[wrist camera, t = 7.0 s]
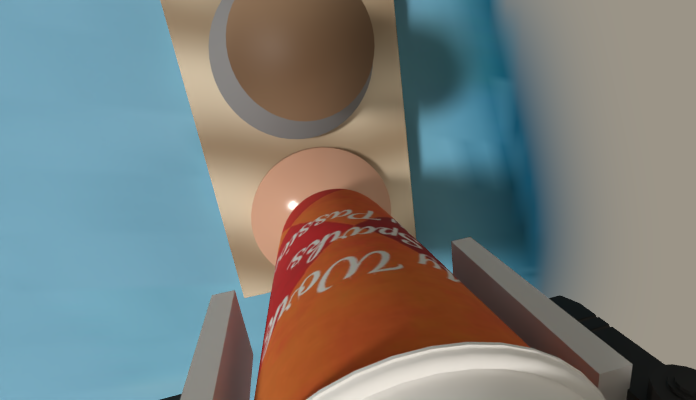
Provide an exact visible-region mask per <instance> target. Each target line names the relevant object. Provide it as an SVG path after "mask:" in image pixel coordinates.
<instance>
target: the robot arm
mask: <svg viewBox="0 0 696 400" xmlns="http://www.w3.org/2000/svg"><path fill="white" fill-rule="evenodd" d="M451 246H452V262H453V275H454V276H455V277H456V278H458V279H459V280H460V281H461V282H462V283H463V284H464V285H465V286H466V287H467V288H468V289H469V290H470V291H471V292H472V293H473V294H474V295H475V296H477V297H478V298H479V299H480V300H481V301H482V302H483V303H484V304H485V305H486V306H487V307H488V308H489V309H490V310H491V311H492V312H493V313H494V314H496V315H497V316H498V317H499V318H500V319H501V320H502V321H503V322H504V323H505V324H506V325H507V326H508V327H509V328H510V329H511V330H512V331H514V332H515V333H516V334H517V335H518V336H519V337H520V338H521V339H522V340H523V341H524V342H525V343H526V344H527V345H528V346H529V347H530V348H534V349H536V350H539V351H542V352H544V353H547V354H550V355H552V356H555V357H558V358H560V359H562V360H563V361H565V362H566V363H568V364H570V365H571V366H573V367H574V368H576V369H578V370H579V371H581V372H582V373H583V374H584V375H585V376H586V377H587V378H588V379H589V380H590V381H591V382H592V383H593V384H594V385H595V386H596V387H597V388H598V389H599V390H600V391H601V393H602V394H603V396H604V398H605V399H606V400H696V370H695V369H692V368H688V367H685V366H678V365H665V364H663V363H662V362H660V361H659V360H658V359H656V358H655V357H653V356H652V355H650V354H649V353H648V352H646V351H645V350H643V349H642V348H641V347H640V346H638V345H637V344H635V343H634V342H633V341H631V340H630V339H628V338H627V337H625V336H624V335H623V334H621V333H620V332H619V331H617V330H616V329H614V328H613V327H610V326H609V324H608V323H606V322H605V321H603V320H602V319H601V318H599V317H598V318H597V317H596V315H595V314H594V313H592V312H591V311H590V310H588V309H587V308H585V307H584V306H583V305H581V304H580V303H577V302H575V301H573V300H570V299H568V298H565V297H563V296H556V297H552V298H547V297H546V296H545V295H544V294H542V293H541V292H540V291H539V290H537V289H536V288H535V287H533V286H532V285H531V284H530V283H528V282H527V281H526V280H525V279H523V278H522V277H521V276H519V275H518V274H517V273H516V272H514V271H513V270H512V269H511V268H509V267H508V266H507V265H505V264H504V263H503V262H502V261H500V260H499V259H498V258H497V257H495V256H494V255H493V254H491V253H490V252H489V251H488V250H486V249H485V248H484V247H483V246H481V245H480V244H479V243H477V242H476V241H475V240H474V239H472V238H471V237H468V238H464V239H459V240H455V241H451ZM252 363H253V352H252V348H251V345H250V342H249V338H248V335H247V331H246V328H245V324H244V321H243V317H242V314H241V310H240V307H239V303H238V300H237V296H236V293H235V290H234V291H229V292H225V293H220V294H216V295H212V297H211V300H210V303H209V307H208V310H207V313H206V316H205V320H204V323H203V326H202V330H201V333H200V336H199V339H198V343H197V346H196V349H195V353H194V356H193V359H192V362H191V366H190V369H189V372H188V376H187V379H186V382H185V385H184V389H183V392H182V394H180V395H176V396H172V397H168V398H164V399H161V400H249V398H250V386H251V374H252Z"/></svg>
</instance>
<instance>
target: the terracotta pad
mask: <svg viewBox="0 0 696 400" xmlns="http://www.w3.org/2000/svg"><path fill="white" fill-rule="evenodd" d="M329 189H348V190H353V191H356V192H359V193H361V194H363V195H365V196H367V197H369V198H370V199H371V200H373V201H374V202H375V203H377V204H378V205H379V206H380V207H381V208H383V209H384V210H385V211H386V212H387V213H388V214H389V215H390V216H391V203H390V197H389V194H388V191H387V188H386V186H385V184H384V182H383V180H382V178H381V177H380V175H379V174H378V173H377V171H376V170H375V169H374V168H373V167H372V166H371V165H370V164H368V163H367V162H366V161H365V160H364V159H362V158H360V157H359V156H357V155H356V154H353V153H351V152H349V151H346V150H343V149H339V148H334V147H312V148H307V149H303V150H300V151H297V152H295V153H292V154H290V155H289V156H287V157H285V158H283V159H282V160H280V161H279V162H278V163H276V164H275V165H274V166H273V167H272V168H271V169H270V170H269V171H268V172H267V174H266V175H265V176H264V178H263V179H262V181H261V182H260V184H259V186H258V188H257V191H256V193H255V196H254V200H253V204H252V212H251V225H252V230H253V234H254V237H255V240H256V243H257V245H258V247H259V249H260V250H261V252H262V253H263V254H264V256H265V257H266V258H267V259H268V260H269V261H270V262H271V263H272V264H273V265H274V266H276V260H277V254H278V248H279V244H280V239H281V235H282V231H283V228H284V225H285V223H286V221H287V219H288V217H289V215H290V214H291V212H292V211H293V210H294V209H295V208H296V206H297V205H298V204H300V203H301V202H302V201H303V200H305V199H306V198H308V197H309V196H311V195H313V194H315V193H318V192H321V191H324V190H329Z"/></svg>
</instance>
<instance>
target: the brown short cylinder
mask: <svg viewBox="0 0 696 400" xmlns="http://www.w3.org/2000/svg"><path fill="white" fill-rule="evenodd" d="M226 48H227V54H228V58H229V62H230V65H231V68H232V70H233V73H234V75H235V77H236V79H237V80H238V82H239V84H240V85H241V87H242V88H243V90H244V91H245V92H246V93H247V95H248V96H249V97H250V98H251V99H252V100H253V101H254V102H255V103H257V104H258V105H259V106H260V107H262V108H263V109H265V110H267V111H268V112H270V113H272V114H274V115H276V116H278V117H281V118H285V119H288V120H294V121H316V120H320V119H324V118H327V117H329V116H332V115H334V114H336V113H338V112H340V111H341V110H343V109H344V108H345V107H347V106H348V105H349V104H350V103H351V102H352V101H353V100H354V99H355V98H356V97H357V96H358V94H359V93H360V92H361V90H362V89H363V87H364V85H365V84H366V81H367V79H368V77H369V75H370V71H371V68H372V64H373V59H374V48H375V44H374V33H373V27H372V23H371V20H370V16H369V14H368V12H367V9H366V7H365V5H364V3H363V2H362V0H234V2H233V4H232V7H231V9H230V12H229V16H228V20H227V26H226Z"/></svg>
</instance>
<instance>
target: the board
mask: <svg viewBox="0 0 696 400" xmlns="http://www.w3.org/2000/svg"><path fill="white" fill-rule="evenodd" d="M221 1H222V0H161V4H162V7H163V11H164V14H165V18H166V22H167V25H168V29H169V32H170V36H171V39H172V43H173V46H174V50H175V53H176V57H177V61H178V64H179V68H180V71H181V75H182V78H183V82H184V85H185V89H186V92H187V96H188V100H189V103H190V107H191V110H192V114H193V117H194V121H195V124H196V128H197V131H198V135H199V139H200V142H201V146H202V149H203V153H204V156H205V160H206V163H207V167H208V170H209V174H210V178H211V181H212V185H213V188H214V192H215V195H216V199H217V202H218V206H219V209H220V213H221V217H222V220H223V224H224V227H225V231H226V234H227V238H228V241H229V245H230V248H231V252H232V256H233V259H234V263H235V266H236V270H237V273H238V277H239V280H240V284H241V287H242V291H243V295H244V298H247V297H251V296H256V295H260V294H264V293H269V292H271V290H272V284H273V278H274V272H275V266H274V265H273V264H272V263H271V262H270V261H269V260H268V259H267V258H266V257H265V256H264V254H263V253H262V252H261V250H260V249H259V247H258V245H257V243H256V240H255V237H254V234H253V230H252V225H251V212H252V204H253V200H254V196H255V193H256V191H257V188H258V186H259V184H260V182H261V181H262V179H263V178H264V176H265V175H266V174H267V172H268V171H269V170H270V169H271V168H272V167H273V166H274V165H275V164H276V163H278V162H279V161H280V160H282V159H283V158H285V157H287V156H289V155H290V154H292V153H295V152H297V151H300V150H303V149H307V148H312V147H334V148H339V149H343V150H346V151H349V152H351V153H353V154H356V155H357V156H359V157H360V158H362V159H364V160H365V161H366V162H367V163H368V164H370V165H371V166H372V167H373V168H374V169H375V170H376V171H377V173H378V174H379V175H380V177H381V178H382V180H383V182H384V184H385V186H386V188H387V191H388V194H389V197H390V203H391V216H392V217H393V218H394V219H395V220H396V221H397V222H398V223H399V224H400V225H401V226H402V227H403V228H405V229H406V230H407V231H408V232H409V233H410V234H411V235H412V236H413V237H414V238H415V239H416V232H415V221H414V211H413V200H412V190H411V179H410V168H409V158H408V147H407V136H406V126H405V115H404V104H403V94H402V83H401V73H400V62H399V51H398V41H397V30H396V19H395V9H394V0H362V2H363V3H364V5H365V7H366V9H367V12H368V14H369V16H370V20H371V23H372V27H373V33H374V44H375V48H374V59H373V68H372V74H371V79H370V82H369V85H368V89H367V91H366V93H365V95H364V97H363V99H362V101H361V102H360V104H359V106H358V107H357V108H356V110H355V111H354V112H353V113H352V115H351V116H350V117H349V118H348V119H347V120H345V121H344V122H343V123H342V124H340V125H339V126H338V127H336V128H335V129H333V130H331V131H329V132H327V133H325V134H322V135H319V136H316V137H312V138H306V139H285V138H279V137H275V136H272V135H268V134H266V133H264V132H261V131H259V130H257V129H256V128H254V127H252V126H251V125H249V124H248V123H246V122H245V121H244V120H243V119H241V118H240V117H239V116H238V115H237V114H236V113H235V112H234V111H233V110H232V109H231V107H230V106H229V105H228V104H227V102H226V101H225V99H224V98H223V96H222V94H221V93H220V91H219V89H218V87H217V84H216V82H215V80H214V76H213V73H212V70H211V65H210V60H209V47H208V46H209V34H210V29H211V24H212V21H213V18H214V15H215V12H216V10H217V8H218V6H219V4H220V2H221Z"/></svg>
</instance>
